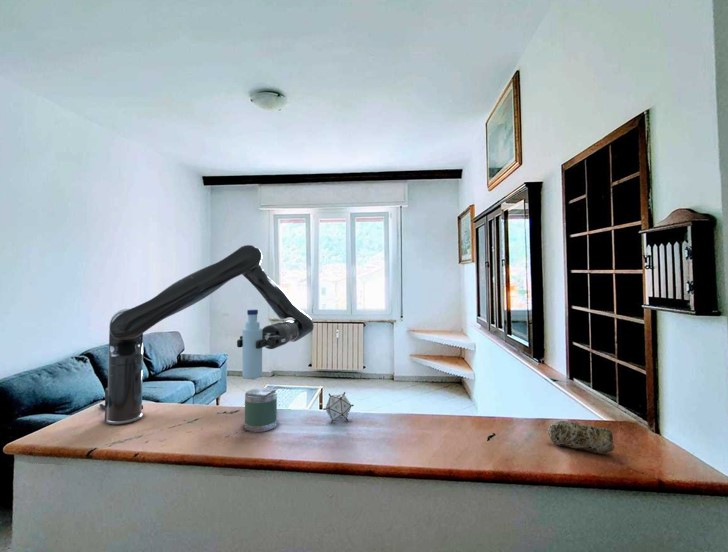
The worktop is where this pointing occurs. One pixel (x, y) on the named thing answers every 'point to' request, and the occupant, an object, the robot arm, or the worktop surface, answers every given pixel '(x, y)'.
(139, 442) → the worktop surface
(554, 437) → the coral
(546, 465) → the worktop surface
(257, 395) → the tin
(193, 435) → the worktop surface
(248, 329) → the bottle
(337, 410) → the game die
